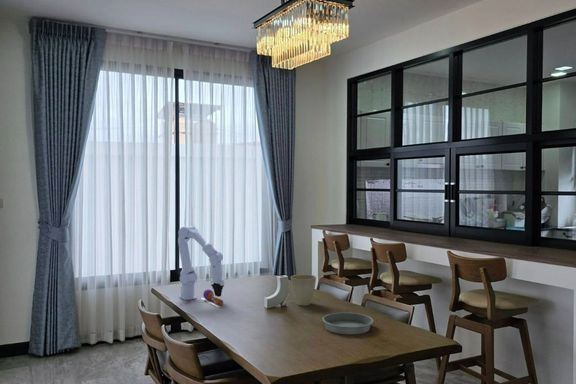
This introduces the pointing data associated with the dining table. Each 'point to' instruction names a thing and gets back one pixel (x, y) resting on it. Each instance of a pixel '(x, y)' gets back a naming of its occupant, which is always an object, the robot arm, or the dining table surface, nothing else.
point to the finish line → (210, 302)
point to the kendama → (212, 297)
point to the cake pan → (347, 323)
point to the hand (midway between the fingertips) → (218, 296)
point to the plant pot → (303, 288)
